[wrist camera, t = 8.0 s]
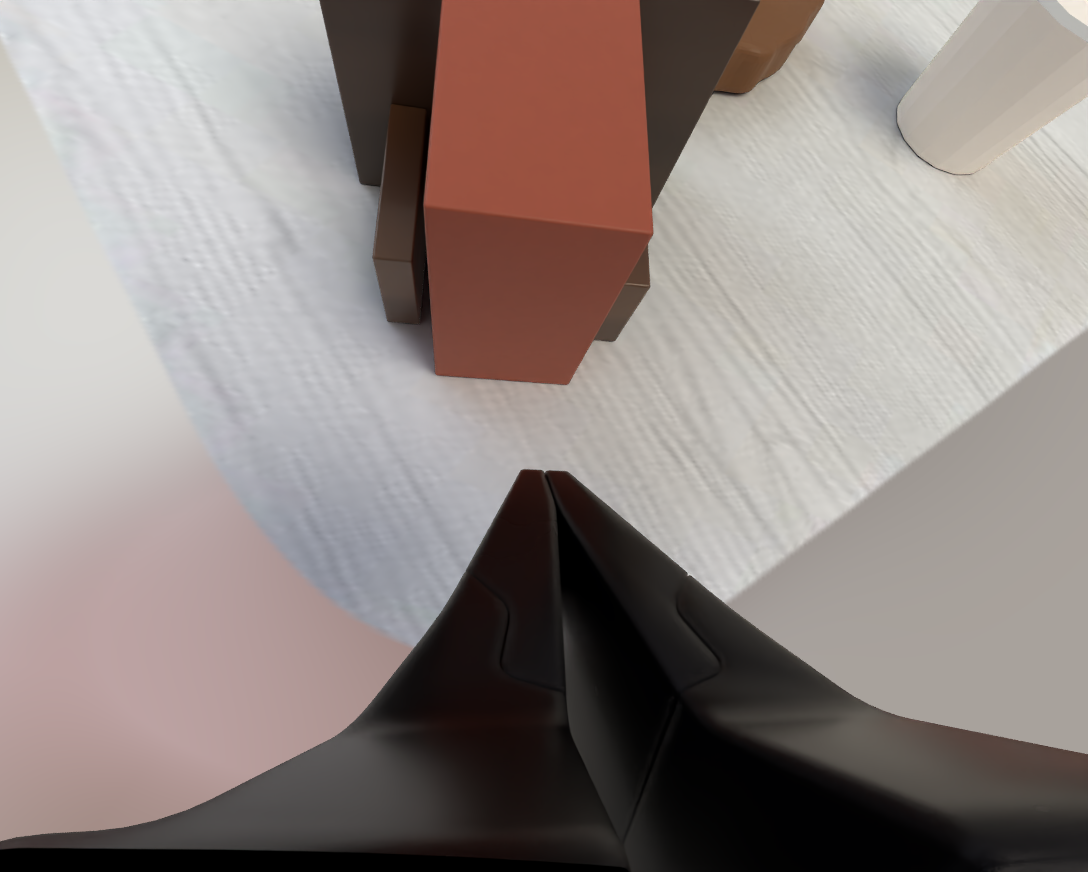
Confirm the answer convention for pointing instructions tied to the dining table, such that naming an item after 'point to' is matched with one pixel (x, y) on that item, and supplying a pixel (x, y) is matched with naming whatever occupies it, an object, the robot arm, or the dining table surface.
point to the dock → (406, 107)
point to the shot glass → (997, 82)
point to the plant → (767, 42)
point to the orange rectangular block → (533, 182)
